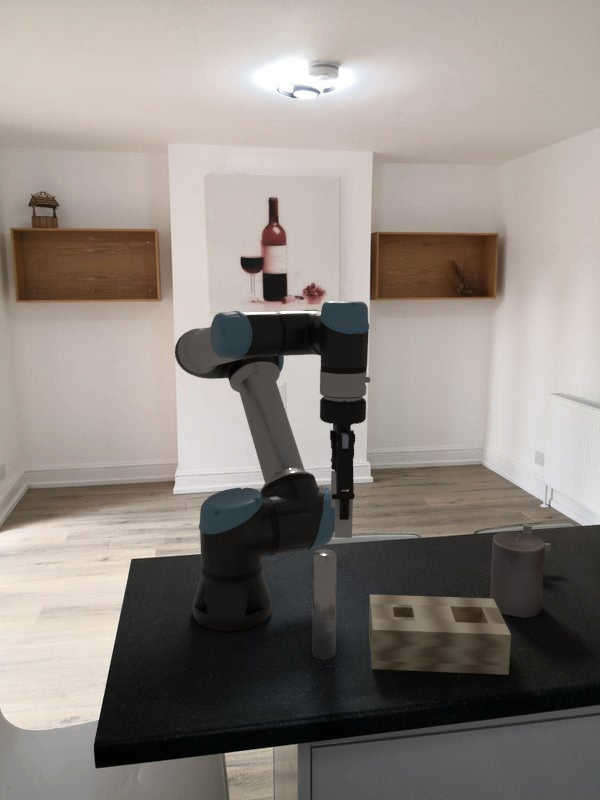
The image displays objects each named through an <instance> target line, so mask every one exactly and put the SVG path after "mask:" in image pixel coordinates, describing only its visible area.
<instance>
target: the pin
mask: <svg viewBox="0 0 600 800" xmlns="http://www.w3.org/2000/svg"><path fill="white" fill-rule="evenodd" d="M337 557H338V555H337V552H336V551H334V550H333V549H332V550H331V549H327V548H322V549H321V548H320V549H316V550H314V551H313V552H312V585H311V586H312V593H311V594H312V595H311V597H312V600H311V601H312V603H311V604H312V605H311V606H312V610H311V612H312V614H311V616H312V619H311V625H312V626H311V628H312V629H311V631H312V633H311V635H312V636H311V654H313V655H312V656H313V657H314V658H315V657H316V658H315V659H317V658H318V659H317V660H320V659H321V660H320V661H328V660H327V659H329V660H332V659H333V658H334V657H336V650H337V649H336V648H337V646H336V645H337V641H336V640H337V638H336V636H337V570H338V569H337V560H338V559H337Z"/></svg>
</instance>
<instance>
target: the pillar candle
mask: <svg viewBox="0 0 600 800" xmlns="http://www.w3.org/2000/svg"><path fill="white" fill-rule="evenodd" d="M491 547H492V550H491V567H490V568H491V569H490V591H489V598H490V599H494V601H495V603H496V605H497V607H498V609H499V611H500V613H501V615H504V616H509V617H514V618H515V617H517V618H521V619H522V618H523V619H528V618H532V617H536V616H538V615H539V614H540V613H541V611H542V610H543V609H542V608H543V586H544V566H545V542H544V540H543V539H542V538H541V537H538V536H536V535H534V534H532V533H531V534H528V533H523V531H513V530H511V531H510V530H509V531H502V532H498V533H496V534H494V535H493V536H492V546H491Z"/></svg>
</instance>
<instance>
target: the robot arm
mask: <svg viewBox="0 0 600 800" xmlns="http://www.w3.org/2000/svg"><path fill="white" fill-rule="evenodd" d="M369 330H370V323H369V307H368V305H367V304H366V302H364V301H360V300H359V301H358V300H356V301H353V300H327V301H324V302H323V304H322V305H321V309H320V310H318V309H304V310H295V311H294V310H290V311H289V310H287V311H285V310H284V311H283V310H281V311H280V310H279V311H239V310H234V311H229V312H227V311H226V312H218V313H216V314H215V315H214V317H213V319H212V322H211V324H210V326H209V327H201V328H198V327H197V328H192V329H190V330H188V331H186V332H184V333H183V334H182V335H181V336H180V337H179V338H178V339H177V342H176V343H175V346H174V347H175V348H174V357H175V361H176V363H177V364H178V366H179V367H180V369H182V370H183V371H184V372H186V373H187V374H189V375H191V376H193V377H196V378H201V379H208V380H216V379H219V380H220V379H228V382H229V385H230V388H231V389H232V390H233V391H235V392H237V393H239V396H240V399H241V404H242V406H243V411H244V413H245V417H246V421H247V423H248V429H249V430H250V436H251V440H252V442H253V445H254V449H255V453H256V456H257V457H256V458H257V459H258V464H259V466H260V469H261V474H262V477H263V480H264V484H263V486H262V487H261V489H260V491H259V490H258V489H256V488H253V487H244V488H242V487H234V488H229V489H228V488H227V489H225V490H221V491H218V492H215V493H214V494H211V495H210V496H208V497H207V498H206V499H205V500H204V501H203V502H202V504H201V507H200V512H199V523H198V529H199V533H200V534H199V535H200V537H199V541H200V542H199V544H200V573H201V575H200V579H199V580H198V581H199V582H198V584H197V588H196V592H195V594H194V597H193V599H192V600H193V601H192V616H193V619H194V620H195V621H196V623H198V624H199V625H200V626H202V627H204V628H206V629H210V630H214V631H220V632H237V631H239V632H240V631H244V630H248V629H253V628H254V627H258V626H260V625H261V624H262V623H264V622H266V621H267V620H268V619H269V618H270V617H271V615H272V612H273V609H272V608H273V607H272V606H273V605H272V604H273V603H272V602H273V600H272V595H271V592H270V589H269V587H268V585H267V581H266V579H265V575H264V572H263V558H266V557H273V556H278V555H282V554H289V553H295V552H299V551H305V550H306V551H310V550H313V549H316V548H319V547H323V546H326V545H328V544H329V543H330V542H331V540H332V539H333V537H334V538H335V539H340V538H341V539H352V538H353V508H354V506H353V505H354V504H353V502H354V499H355V495H356V494H355V491H354V487H355V485H354V483H355V482H354V479H355V477H354V459H355V443H356V433H355V430H354V429H352V428H351V426H352V425H358V424H361V423H363V422H365V420H366V418H367V400H366V399H365V398H364V397H365V396H366V395H367V385H366V384H369V383H371V377H370V376H367V375H368V374H367V371H368V370H367V369H368V357H369V356H368V354H369V333H370V332H369ZM308 355H309V356H312V355H315V356H320V370H319V394H320V396H322V397H321V399H319V419H320V420H321V421H322V422H324V423H325V424H330V425H331V424H332V429H330V430H329V440H330V449H331V458H330V463H331V465H330V468H331V471H330V472H331V473H330V474H331V475H330V477H331V478H330V489H329V487H327V486H323V485H322V486H318V482H317V480H316V477H315V475H314V474H313V473H311V472H309V471H306V470H305V467H304V464H303V459H302V458H301V455H300V452H299V449H298V445H297V442H296V439H295V436H294V432H293V430H292V425H291V424H290V420H289V416H288V414H287V411H286V408H285V406H284V402H283V398H282V395H281V392H280V389H279V387H278V384H277V383H278V382H277V381H278V380H279V378H280V375H281V373H282V371H283V368H284V364H285V363H284V362H285V360H284V359H285V357H287V356H308ZM284 356H285V357H284Z"/></svg>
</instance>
